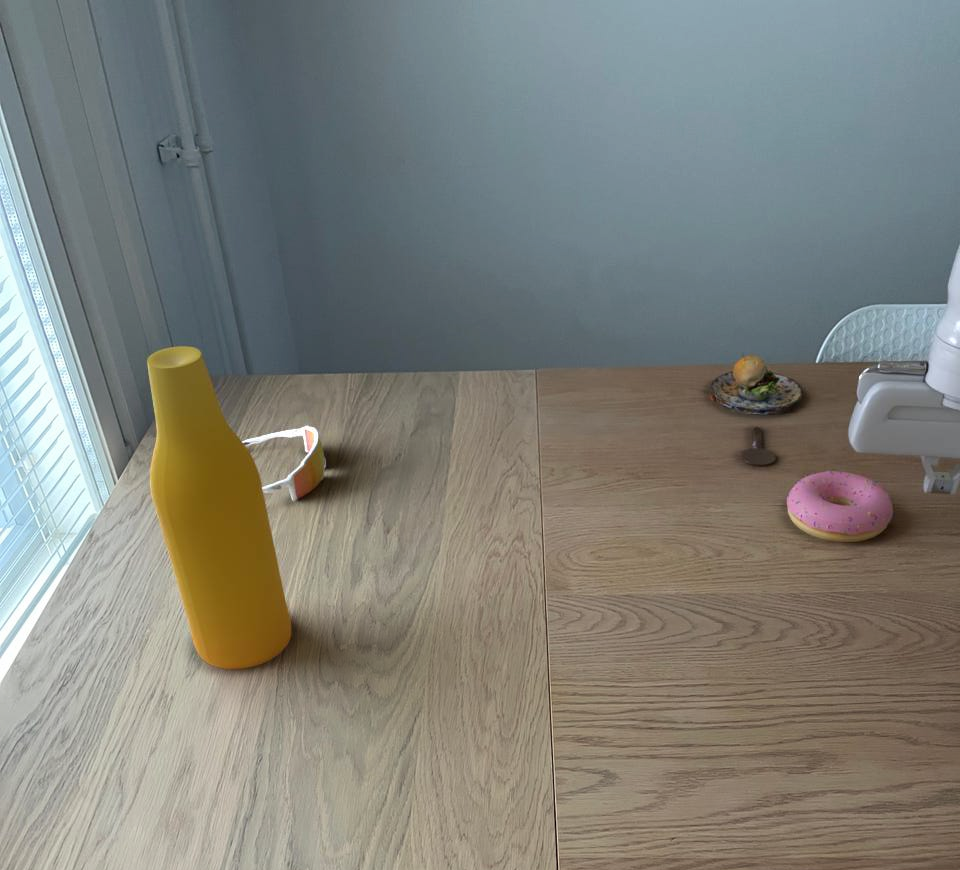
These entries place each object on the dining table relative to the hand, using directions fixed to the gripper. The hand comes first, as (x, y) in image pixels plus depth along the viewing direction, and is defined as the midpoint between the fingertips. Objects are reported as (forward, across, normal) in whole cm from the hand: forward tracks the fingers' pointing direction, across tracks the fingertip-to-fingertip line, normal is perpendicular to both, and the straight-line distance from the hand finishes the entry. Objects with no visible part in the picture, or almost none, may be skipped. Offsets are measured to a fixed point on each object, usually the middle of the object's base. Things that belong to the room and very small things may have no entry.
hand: (938, 491), depth 102 cm
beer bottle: (+5, -66, -29) cm, 73 cm away
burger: (+5, -18, +29) cm, 34 cm away
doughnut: (+5, -10, 0) cm, 11 cm away
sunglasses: (+5, -76, +1) cm, 76 cm away
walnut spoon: (+5, -18, +14) cm, 23 cm away
